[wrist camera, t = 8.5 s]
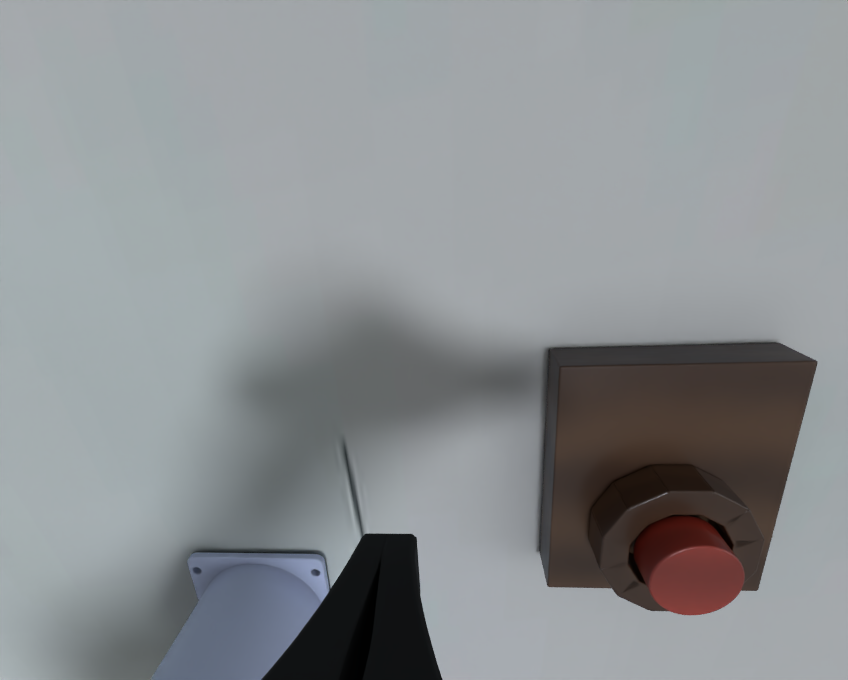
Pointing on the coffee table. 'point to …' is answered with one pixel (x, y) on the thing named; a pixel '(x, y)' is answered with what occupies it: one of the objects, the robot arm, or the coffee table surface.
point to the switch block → (665, 453)
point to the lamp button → (688, 565)
